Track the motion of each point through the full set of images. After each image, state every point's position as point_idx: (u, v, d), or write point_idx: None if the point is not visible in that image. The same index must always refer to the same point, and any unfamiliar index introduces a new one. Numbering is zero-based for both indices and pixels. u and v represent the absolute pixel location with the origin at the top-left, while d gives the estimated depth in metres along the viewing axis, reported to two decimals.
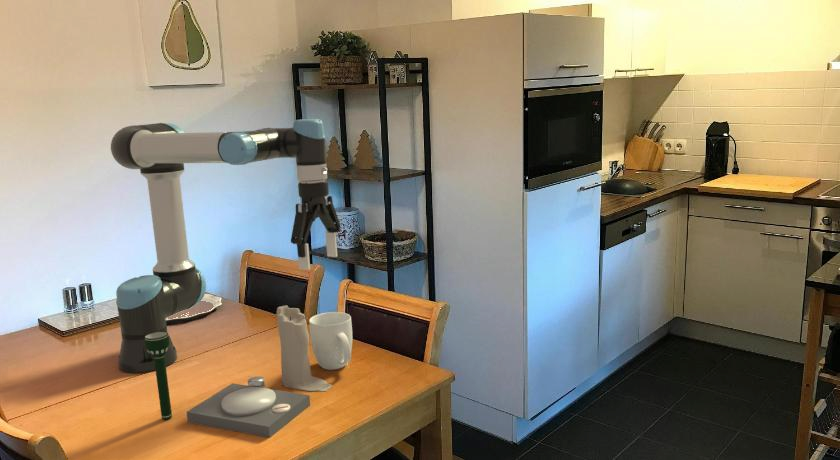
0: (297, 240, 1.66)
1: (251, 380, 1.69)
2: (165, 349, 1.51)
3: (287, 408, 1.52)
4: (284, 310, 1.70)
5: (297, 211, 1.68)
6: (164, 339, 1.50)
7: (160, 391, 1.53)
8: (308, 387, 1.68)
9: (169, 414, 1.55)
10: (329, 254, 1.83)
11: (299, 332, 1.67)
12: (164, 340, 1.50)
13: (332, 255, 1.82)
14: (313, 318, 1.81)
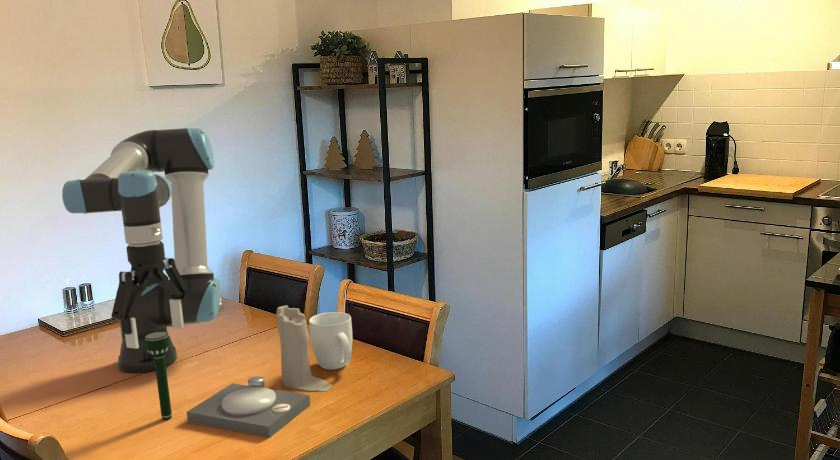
0: (118, 315, 1.40)
1: (252, 380, 1.69)
2: (165, 349, 1.51)
3: (287, 408, 1.52)
4: (284, 311, 1.70)
5: (121, 280, 1.43)
6: (164, 339, 1.50)
7: (160, 391, 1.53)
8: (308, 387, 1.68)
9: (169, 414, 1.55)
10: (174, 324, 1.57)
11: (299, 332, 1.67)
12: (164, 340, 1.50)
13: (177, 326, 1.57)
14: (313, 318, 1.81)
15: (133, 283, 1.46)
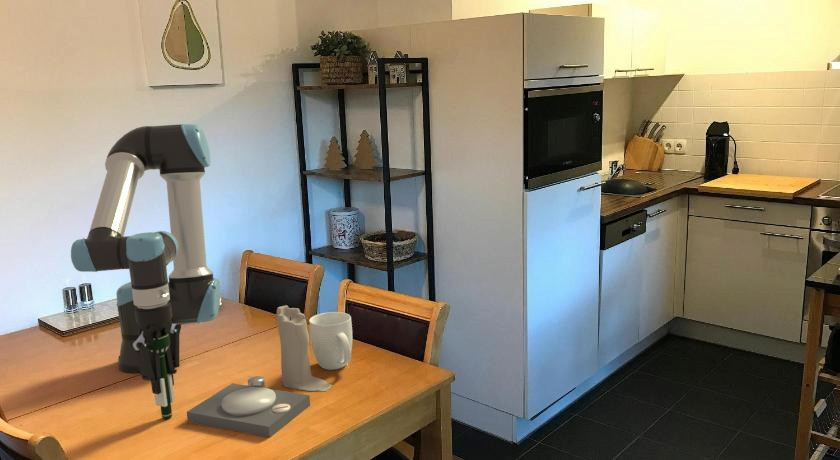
0: (149, 379, 1.49)
1: (252, 380, 1.69)
2: (165, 348, 1.51)
3: (287, 408, 1.52)
4: (284, 311, 1.70)
5: (135, 350, 1.47)
6: (164, 339, 1.50)
7: None
8: (308, 387, 1.68)
9: (169, 413, 1.55)
10: None
11: (299, 332, 1.67)
12: (164, 339, 1.50)
13: None
14: (313, 318, 1.81)
15: None
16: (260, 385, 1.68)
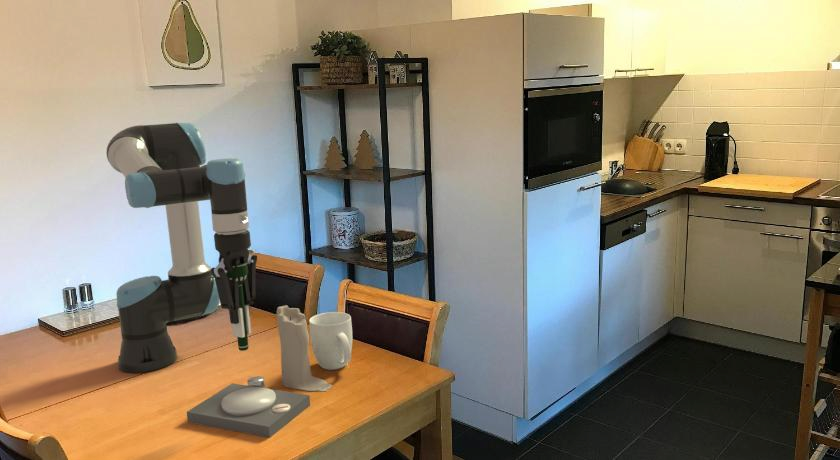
0: (228, 307, 1.46)
1: (251, 380, 1.69)
2: (244, 277, 1.49)
3: (287, 408, 1.52)
4: (284, 310, 1.70)
5: (215, 276, 1.44)
6: (243, 267, 1.48)
7: None
8: (308, 387, 1.68)
9: (246, 344, 1.52)
10: None
11: (299, 332, 1.67)
12: (243, 267, 1.48)
13: None
14: (313, 318, 1.81)
15: None
16: (259, 385, 1.68)
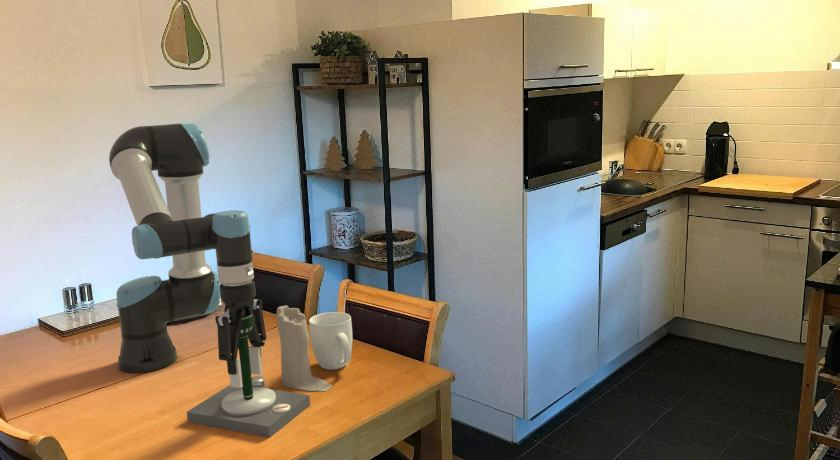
0: (226, 358, 1.46)
1: (252, 379, 1.69)
2: (249, 328, 1.51)
3: (287, 408, 1.52)
4: (284, 311, 1.70)
5: (219, 325, 1.46)
6: (249, 319, 1.50)
7: (243, 370, 1.53)
8: (308, 387, 1.68)
9: (251, 394, 1.54)
10: (253, 371, 1.57)
11: (299, 332, 1.67)
12: (249, 319, 1.50)
13: (256, 373, 1.57)
14: (313, 318, 1.81)
15: None
16: (259, 385, 1.68)
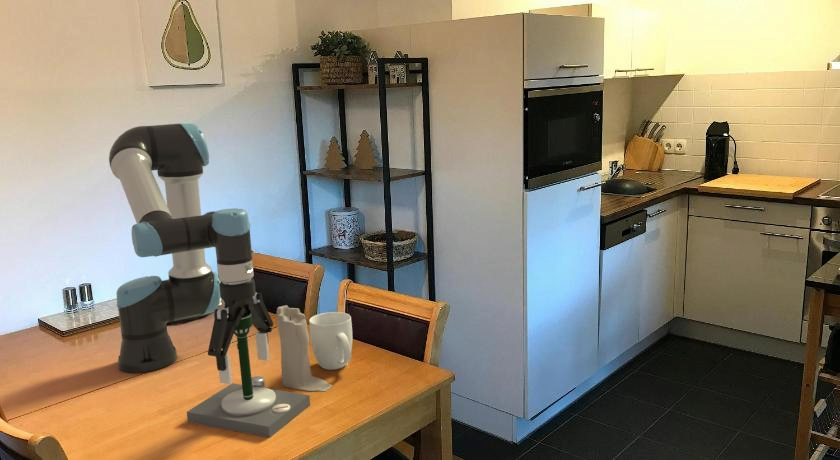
0: (215, 353, 1.43)
1: (252, 379, 1.69)
2: (249, 328, 1.51)
3: (287, 408, 1.52)
4: (284, 310, 1.70)
5: (216, 318, 1.45)
6: (248, 319, 1.50)
7: (243, 370, 1.53)
8: (308, 387, 1.68)
9: (251, 394, 1.54)
10: (260, 357, 1.60)
11: (299, 332, 1.67)
12: (248, 319, 1.50)
13: (263, 358, 1.60)
14: (313, 318, 1.81)
15: None
16: (259, 385, 1.68)
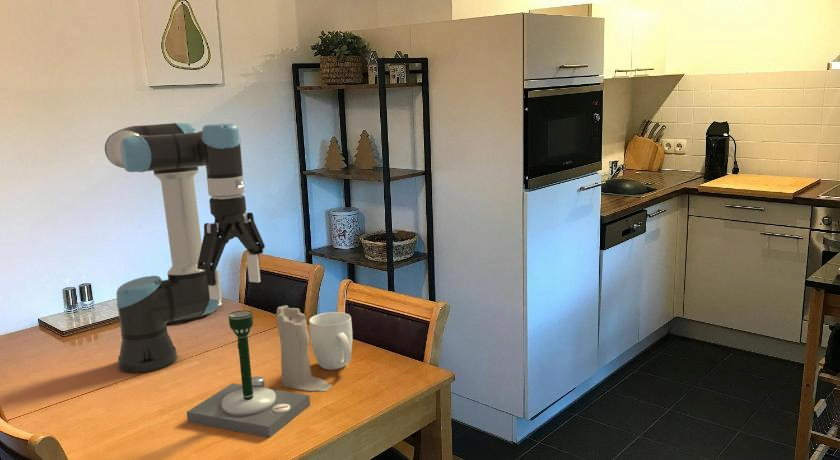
0: (204, 266, 1.42)
1: (252, 379, 1.69)
2: (249, 328, 1.51)
3: (287, 408, 1.52)
4: (284, 310, 1.70)
5: (206, 232, 1.44)
6: (249, 318, 1.50)
7: (243, 370, 1.53)
8: (308, 387, 1.68)
9: (251, 394, 1.54)
10: (251, 279, 1.58)
11: (299, 332, 1.67)
12: (249, 319, 1.50)
13: (254, 280, 1.58)
14: (313, 318, 1.81)
15: None
16: (258, 385, 1.68)
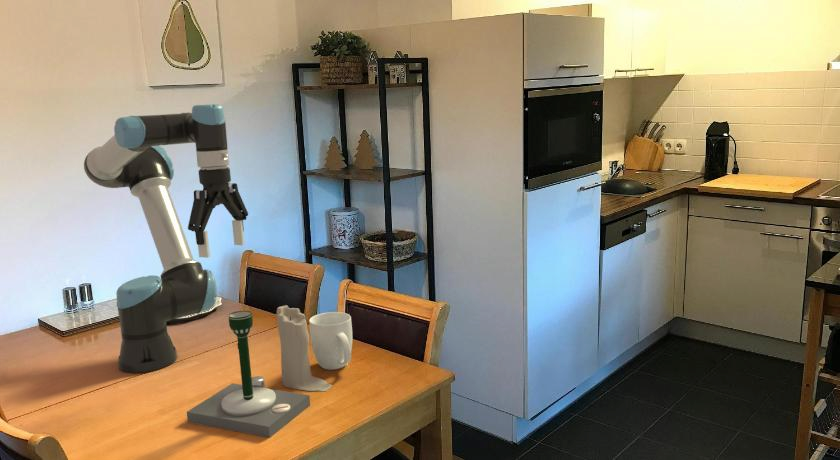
0: (194, 227, 1.63)
1: None
2: (249, 328, 1.51)
3: (287, 408, 1.52)
4: (284, 310, 1.70)
5: (195, 198, 1.65)
6: (249, 319, 1.50)
7: (243, 370, 1.53)
8: (308, 387, 1.68)
9: (251, 394, 1.54)
10: (236, 242, 1.80)
11: (299, 332, 1.67)
12: (248, 319, 1.50)
13: (239, 243, 1.80)
14: (313, 318, 1.81)
15: (204, 202, 1.69)
16: (257, 385, 1.67)
